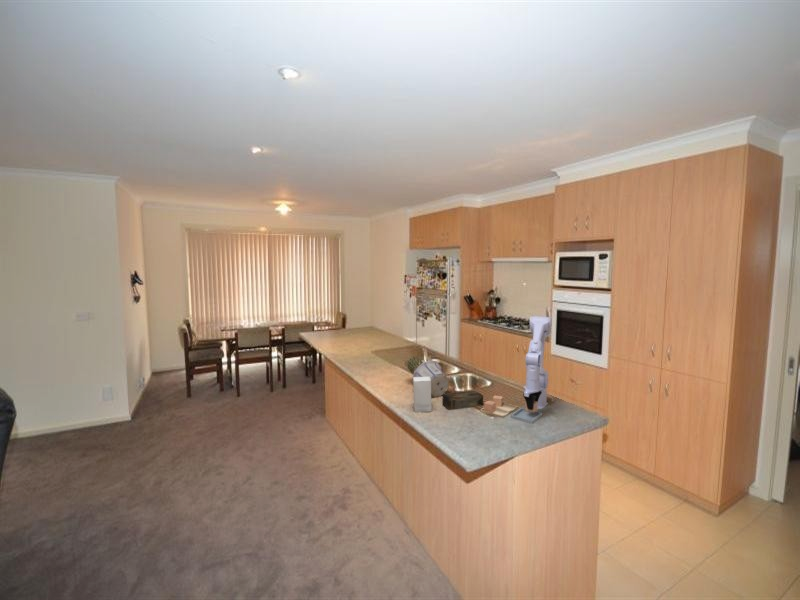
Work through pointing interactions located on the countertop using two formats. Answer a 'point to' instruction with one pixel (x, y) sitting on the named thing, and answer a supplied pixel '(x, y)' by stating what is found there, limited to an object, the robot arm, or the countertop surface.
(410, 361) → the potted plant
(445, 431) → the countertop surface
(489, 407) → the chunk
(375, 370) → the countertop surface
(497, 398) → the chunk
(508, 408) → the birch tray
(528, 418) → the slate dish
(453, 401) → the beverage carton
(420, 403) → the skincare box
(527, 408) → the chunk
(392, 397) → the countertop surface
